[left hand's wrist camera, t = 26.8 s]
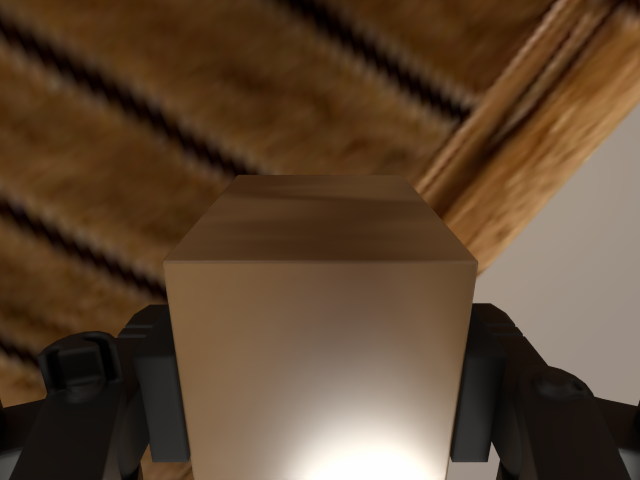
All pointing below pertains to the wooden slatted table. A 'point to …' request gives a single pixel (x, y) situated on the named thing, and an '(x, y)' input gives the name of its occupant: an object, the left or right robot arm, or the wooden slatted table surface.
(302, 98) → the wooden slatted table surface
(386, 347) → the block
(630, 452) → the left robot arm
